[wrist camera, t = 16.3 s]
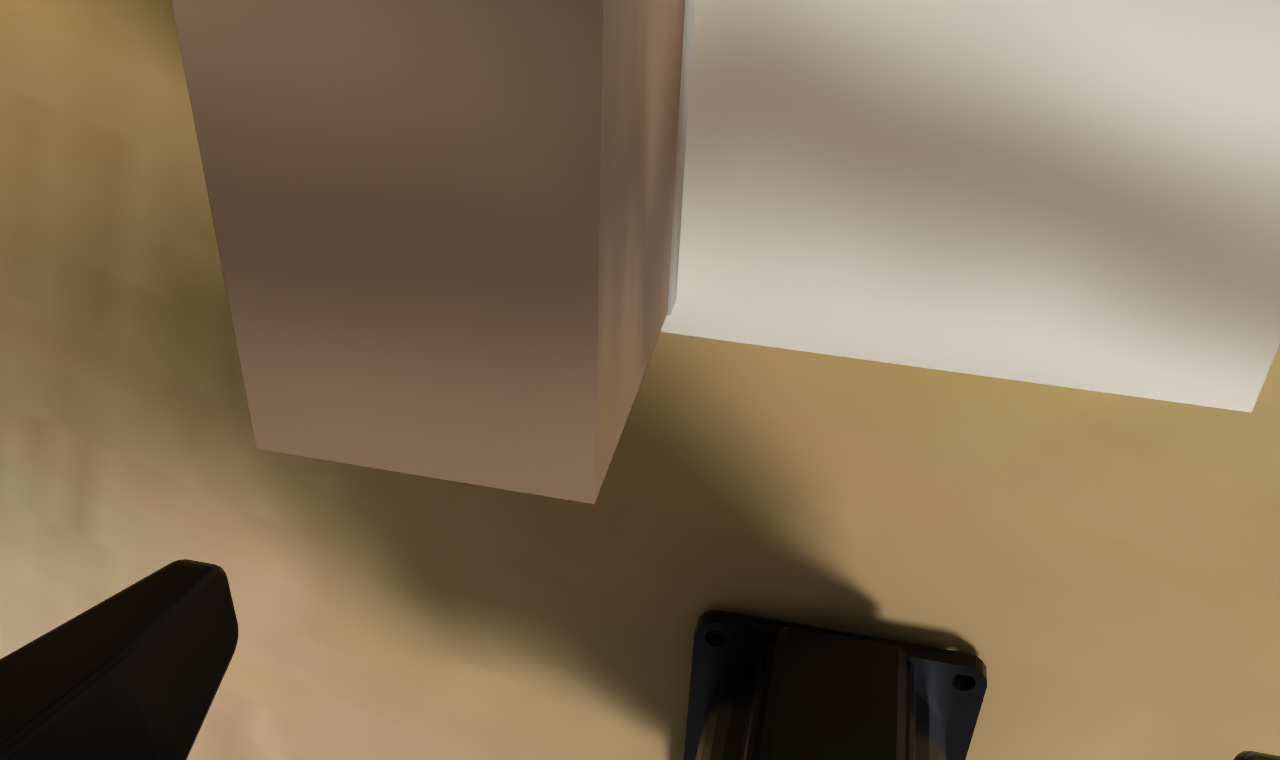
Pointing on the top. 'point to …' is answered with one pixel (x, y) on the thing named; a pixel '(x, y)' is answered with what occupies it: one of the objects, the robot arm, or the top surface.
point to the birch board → (991, 188)
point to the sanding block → (444, 223)
